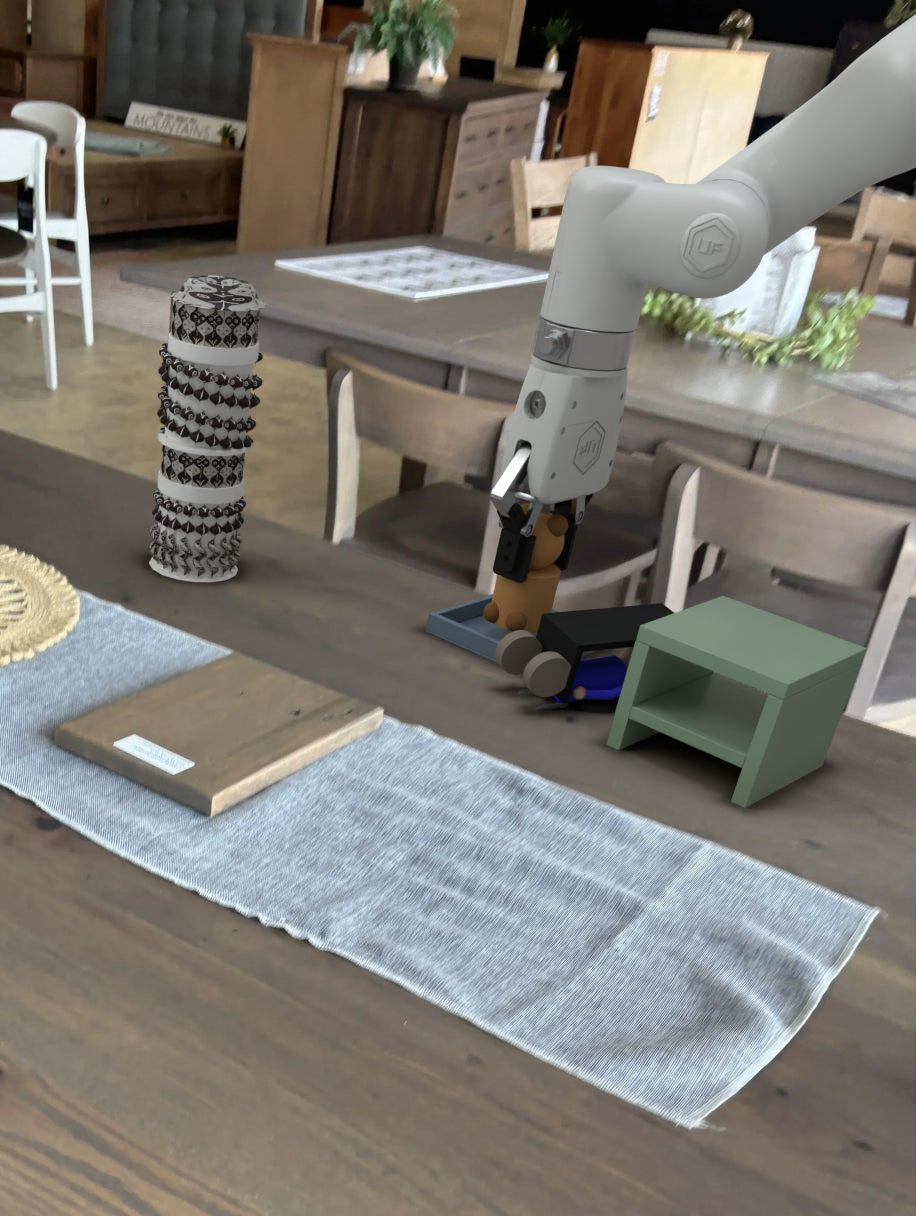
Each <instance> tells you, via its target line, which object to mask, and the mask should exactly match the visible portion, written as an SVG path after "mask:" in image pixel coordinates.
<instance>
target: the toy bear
mask: <svg viewBox="0 0 916 1216" xmlns="http://www.w3.org/2000/svg"><path fill="white" fill-rule="evenodd" d="M529 505H530V503H522V504H520V506H521V507H522V509H523V511H524V514H525V516H526V513H527V511H528V508H529ZM567 529H568V521H567V519H566V518H565V517H564V516H562V515H553V516H552V515H551V514H547V513H543V512H541V513H540V515H539V518H538V520H537V523H536V525H535V528H534V530H533V532H532V534H531V535H534V536H536V541H535V546H534V550H533V554H532V559H531V563H530V567H529V571H528V576H527V580H526V581H525V582H522V583H517V582H515V581H512V580H510V579H507V578H505V577H502V576H500V575H497V574H496V575H497V576H496V580H495V585H494V589H493V593H492V594H493V598H492V602H490V603H489V604H487V605H486V606H485V608H484V612H483V614H484V617H485V619H486V620H487V621H488V622H491V623H493V624H495V625H496V626H498V627H501V628H503V629H506V630H510V631H512V632H514V631H517V630H525V631H528V632H530V633H537V632H538V628H539V625H540V621H541V616H542V613H551V611H552V609H553V606H554V602H555V598H556V593H557V591H558V586H559V581H560V579H561V575H562V571H561V570H560V569H559V568H558V567H557V566H556V565H554V564H552V563H553V562H554V561H555V560H556V559H557V558H558V557H559V555H560V554H561V552H562V550H563V547H564V534H565V532H566V531H567Z"/></svg>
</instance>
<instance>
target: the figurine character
mask: <svg viewBox="0 0 916 1216" xmlns="http://www.w3.org/2000/svg"><path fill="white" fill-rule="evenodd" d="M674 613H675V612H674V611H673V610H672V609H670V608H669V607H668V606H667V605H665V604H664V603H662V602H659V603H648V604H636V605H635V604H634V605H624V606H613V607H612V606H611V607H602V608H601V607H600V608H589V609H578V610H566V611H558V612H553V613H542V616H541V621H540V625H539V628H538V632H537V635H536V637H535V636H533V635H532V634H531V633H530V632H528V631H525V630H517V631H514V632H511V633H509V634H507V635H506V636H505V637H504V638H502V640H501V641H500V642H499V643H498V645H497V647H496V650H495V659H496V661H497V664H498V665H499V666H500V667H501V668H502V669H503V670H504V672H506V673H508V674H510V675H515V676H517V675H522V681H523V683H524V685H525V687H527V688H523V689H520V690H519V691H518V692H517V694H518V695H521V696H537V697H540V698H550V697H553V698H555V699H556V700H555V702H554V703H548V704H542V705H538V706H536V707H535V710H537V711H551V710H558V709H564V708H567V707H568V706H570V702H571V703H572V702H576V701H581V700H606V701H607V700H608V701H612V700H614V699H616V698H617V697H620V694H621V691H622V687H623V684H624V680H625V676H626V673H627V669H628V666H629V662H630V659H631V655H632V652H633V648H634V645H635V641H636V639H637V635H638V632H639V628H640V626H641V625H643V624H646V623H649V622H651V621H654V620H657V619H660V618H662V617H665V616H668V615H671V614H674ZM617 649H623V650H622V651H621V652H620V653H619V655H615V654H613V655H612V654H611V655H606V656H601V657H595V658H589V659H588V658H587V659H585V658H584V659H583V656H582V654H583V652H587V651H595V652H598V651H607V650H617ZM597 650H598V651H597Z"/></svg>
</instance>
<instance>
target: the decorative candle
mask: <svg viewBox="0 0 916 1216" xmlns="http://www.w3.org/2000/svg"><path fill="white" fill-rule="evenodd" d="M170 297H171V298H172V310H171V311H172V312H171V322H170V323H171V325H170V332H169V333H168V335H167V336H168V339H167V342H165V343H162V345H161V347H160V349H159V350H158V354H159V356H160V358H162V362H161V366H159V367H158V369H157V373H158V375H160V380H161V381H162V382H164V384H162V385H161V386H160V391H159V392H157V398H158V399H159V400H160V408H158V410H157V412H156V415H157V417H158V420H159V421H158V422H160V424H162V425H161V427H160V429H159V430H160V431H159V432H158V433H157V439H158V441H159V442H160V444H162V447H161V459H160V460H161V462H160V469H159V471H158V475H157V487H156V489H155V491H153V493H152V497H153V499H154V502H155V503H156V505H155V506H154V508H153V509H152V511H151V514H152V516H153V518H154V520H155V521H156V522H155V523H154V524H153V525H152V526H151V528H150V530H149V536H150V537H151V538H152V541H151V543H150V544H149V547H148V552H149V554H150V555H151V558H150V560H149V562H148V563H149V566H150V567H151V569H152V570H153V571H155V572H157V573H158V574H160V575H161V576H165V577H167V578H170V579H175V580H177V581H183V582H191V583H217V582H222V581H227V580H229V579H232V578H233V577H236V575H237V574H238V570H239V568H238V567H237V565H238V564H239V561H240V560H241V554H240V553H239V549H240V547H241V544H243V538H242V537H241V532H240V531H239V529H241V528H242V525H243V524H244V523H245V519H244V517H243V514H242V512H243V511H244V509H245V507H246V506H247V501H246V500H245V498H244V496H243V495H244V490H245V482H246V478H245V477H244V469H245V464H246V458H245V457H246V453H247V452H249V451H250V450H251V448H252V445H253V444H254V443H255V442H254V439H253V438H252V437H250V435H248V433H249V432H251V431H253V430H254V429H255V428H256V427H257V422H256V420H255V419H254V418H252V416H249V413H250V410H251V409H253V408H256V407H257V406H259V405H260V403H261V399H260V397H259V396H257V395H256V393H255V390H257V389H259V388H260V387H261V386H263V384H264V383H263V381H264V380H263V379H262V377H260V376H259V375H258V374H257V373H255V374H254V367H255V366H257V365H256V364H258V363H259V362H261V361H262V360H263V358H264V356H263V353H262V352H260V341H259V338H258V337H259V331H260V323H261V320H260V319H261V318H260V317H261V312H262V310H263V309H264V308H266V306H267V304H266V303H264V301H262V300H260V299H259V296H258V293H257V291H256V289H255V287H254V286H253V284H251V283H250V282H248V281H246V280H243V279H241V278H237V277H236V278H235V277H232V276H231V277H230V276H222V275H212V274H211V275H210V274H202V275H194V276H191V277H189V278H188V279H186V281H185V282H184V283H183V284H182V286H181V288H180V289H179V290H178V291H176V292H173V293H172V294H171V295H170ZM253 392H254V393H253Z"/></svg>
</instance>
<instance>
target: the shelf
mask: <svg viewBox="0 0 916 1216" xmlns="http://www.w3.org/2000/svg"><path fill="white" fill-rule="evenodd" d="M867 650H868V648H867V647H864V646H862V645H860V644H856V643H854V642H850V641H848V640H846V639H843V638H840V637H837V636H835V635H832V634H829V633H826V632H824V631H821V630H818V629H815V628H813V627H810V626H808V625H804V624H802V623H799V622H797V621H793V620H791V619H788V618H786V617H783V616H781V615H777V614H775V613H772V612H769V611H766V610H763V609H761V608H759V607H755V606H753V605H750V604H748V603H744V602H742V601H739V600H736V599H733V598H731V597H728V596H726V595H721V596H718V597H716V598H713V599H710V600H707V601H705V602H702V603H699V604H696V605H693V606H690V607H687V608H685V609H682V610H679V611H676V612H674V614H671V615H668V616H665V617H662V618H660V619H657V620H654V621H651V622H649V623H646V624H643V625H641V626H640V628H639V632H638V635H637V639H636V641H635V645H634V648H633V652H632V655H631V659H630V662H629V666H628V669H627V673H626V676H625V680H624V684H623V687H622V691H621V694H620V696H619V698H618V702H617V704H616V708H615V712H614V716H613V718H612V722H611V726H610V729H609V733H608V736H607V740H606V743H605V744H606V746H609V747H611V748H612V749H615V750H617V751H621V750H623V749H625V748H627V747H629V746H632V745H635V744H637V743H639V742H641V741H643V740H645V739H647V738H650V737H652V736H655V735H657V734H659V733H661V734H664V735H665V736H668V737H671V738H672V739H675V740H677V741H679V742H682V743H684V744H687V745H689V746H691V747H693V748H696V749H697V750H701V751H702V752H704V753H707V754H709V755H712V756H714V757H716V758H718V759H720V760H723V761H724V762H727V763H728V764H729V763H730V764H732V765H734V766H737V767H738V768H741V771H740V774H739V776H738V779H737V782H736V785H735V788H734V791H733V794H732V797H731V800H730V802H731V803H734V804H736V805H738V806H740V807H742V808H745V809H746V808H748V807H750V806H752V805H754V804H755V803H757V802H759V801H761V800H762V799H764V798H766V797H768V796H770V795H772V794H773V793H776V792H777V791H779V790H781V789H783V788H785V787H786V786H789V785H790V784H792V783H795V781H798V780H799V779H801V778H803V777H805V776H808V775H809V774H810V773H812V772H814V771H816V770H818V769H820V768H822V767H823V765H824V764H825V763H824V762H825V760H826V758H827V755H828V752H829V750H830V747H831V744H832V741H833V739H834V737H835V733H836V731H837V729H838V726H839V724H840V721H841V719H842V716H843V714H844V711H845V708H846V705H847V703H848V700H849V697H850V695H851V692H852V690H853V687H854V684H855V682H856V679H857V677H858V674H859V671H860V669H861V667H862V663H863V661H864V658H865V656H866V653H867Z"/></svg>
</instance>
